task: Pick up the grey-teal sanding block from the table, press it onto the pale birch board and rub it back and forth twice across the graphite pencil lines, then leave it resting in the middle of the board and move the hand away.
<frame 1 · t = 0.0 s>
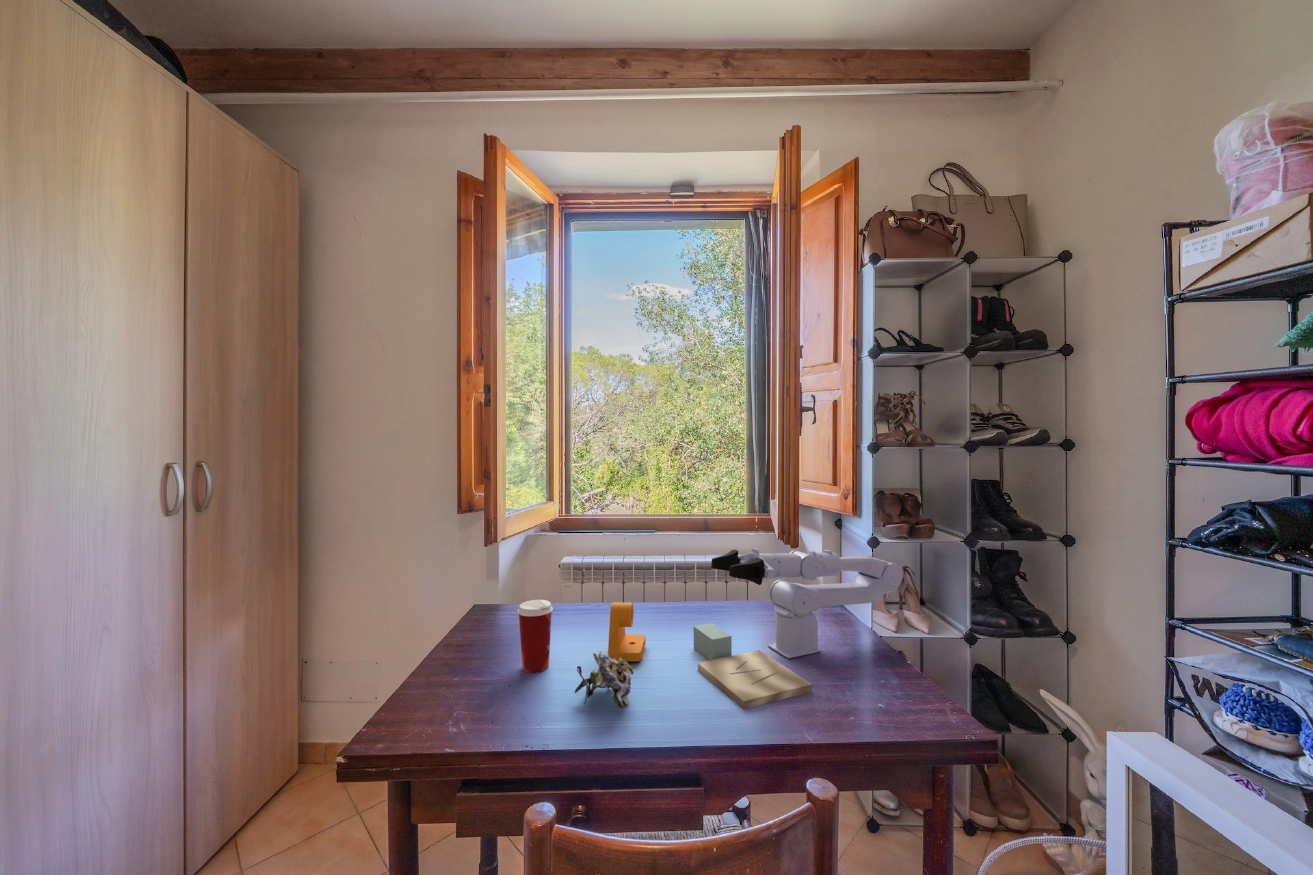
hand: (720, 567, 117), 22 cm above the table, tool horizontal, fingers open, 7 cm apart
bracket: (627, 655, 123), on the table
sanding block: (712, 654, 123), on the table
passion flower: (604, 704, 101), on the table
paper cup: (535, 668, 116), on the table
birch board: (752, 680, 110), on the table
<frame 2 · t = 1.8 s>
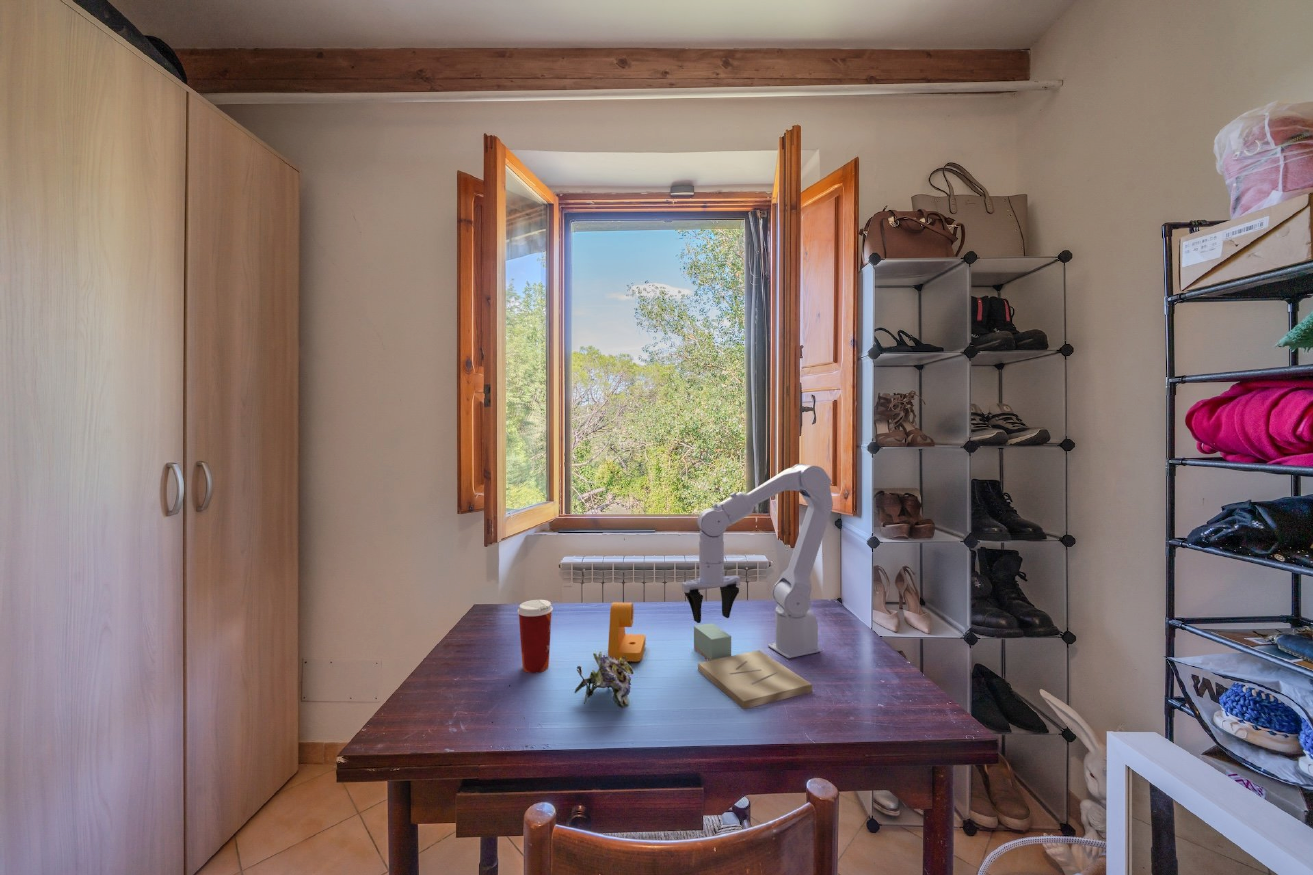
hand: (711, 619, 123), 8 cm above the table, tool pointing down, fingers open, 7 cm apart
nothing on the table moved.
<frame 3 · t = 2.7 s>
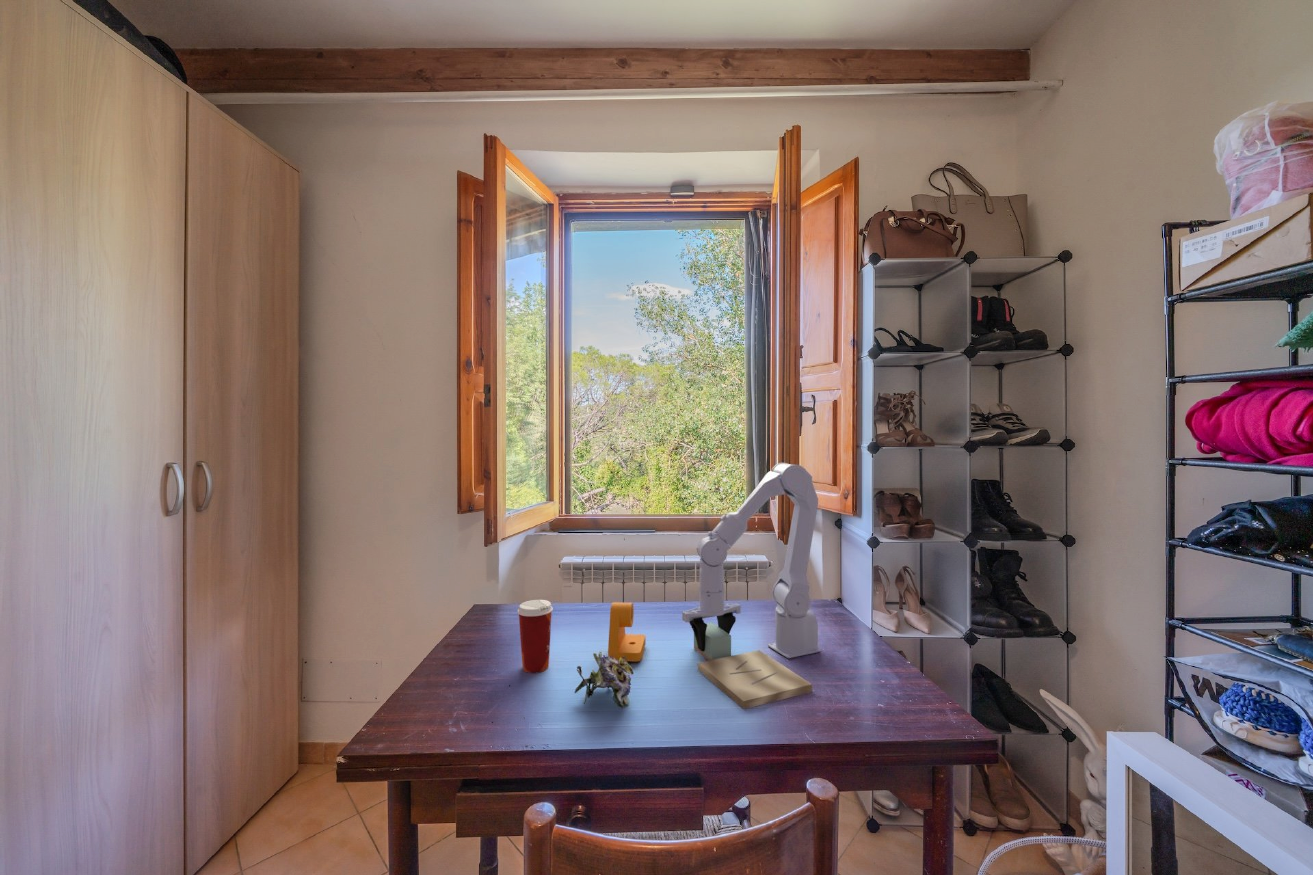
hand: (712, 647, 123), 1 cm above the table, tool pointing down, fingers closed on sanding block, 5 cm apart
sanding block: (712, 653, 123), on the table, touching gripper
everything else where it was.
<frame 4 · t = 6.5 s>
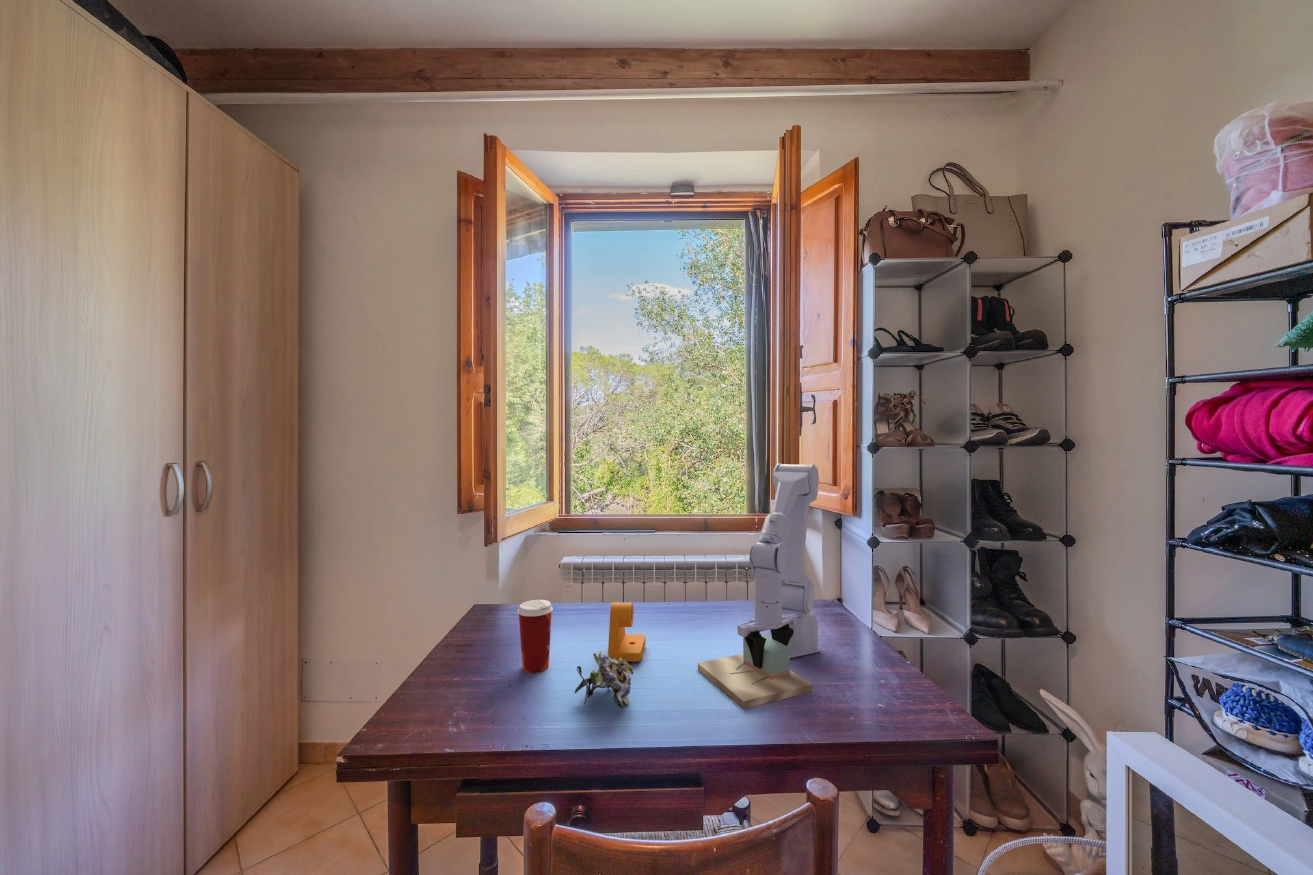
hand: (768, 663, 111), 3 cm above the table, tool pointing down, fingers closed on sanding block, 5 cm apart
sanding block: (765, 668, 112), point 2 cm above the table, touching birch board, gripper
everything else where it was.
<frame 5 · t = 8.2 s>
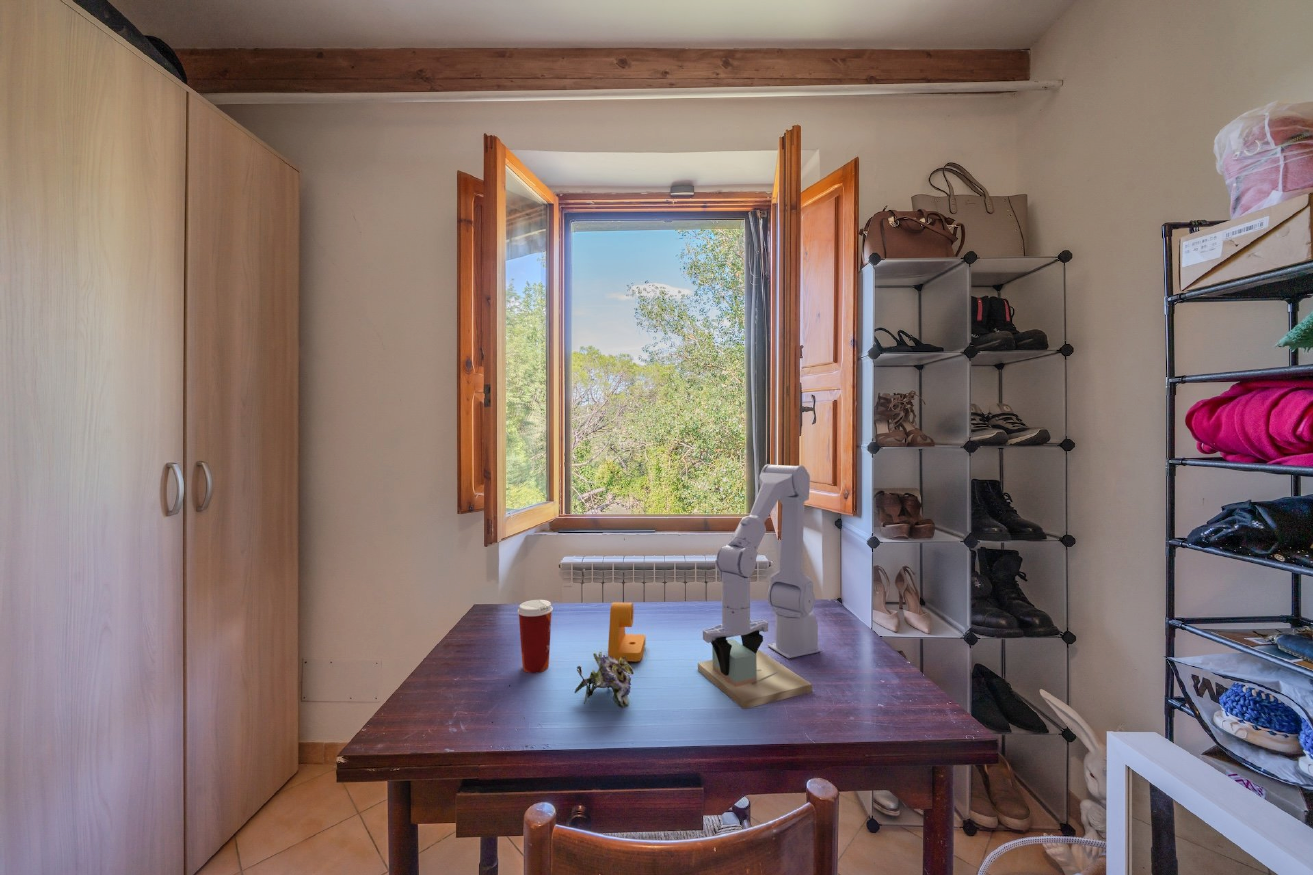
hand: (736, 670, 108), 3 cm above the table, tool pointing down, fingers closed on sanding block, 5 cm apart
sanding block: (733, 674, 109), point 2 cm above the table, touching gripper
everything else where it was.
when the fingers open (3 cm above the table, at t = 12.5 s): sanding block stays where it is, resting on birch board.
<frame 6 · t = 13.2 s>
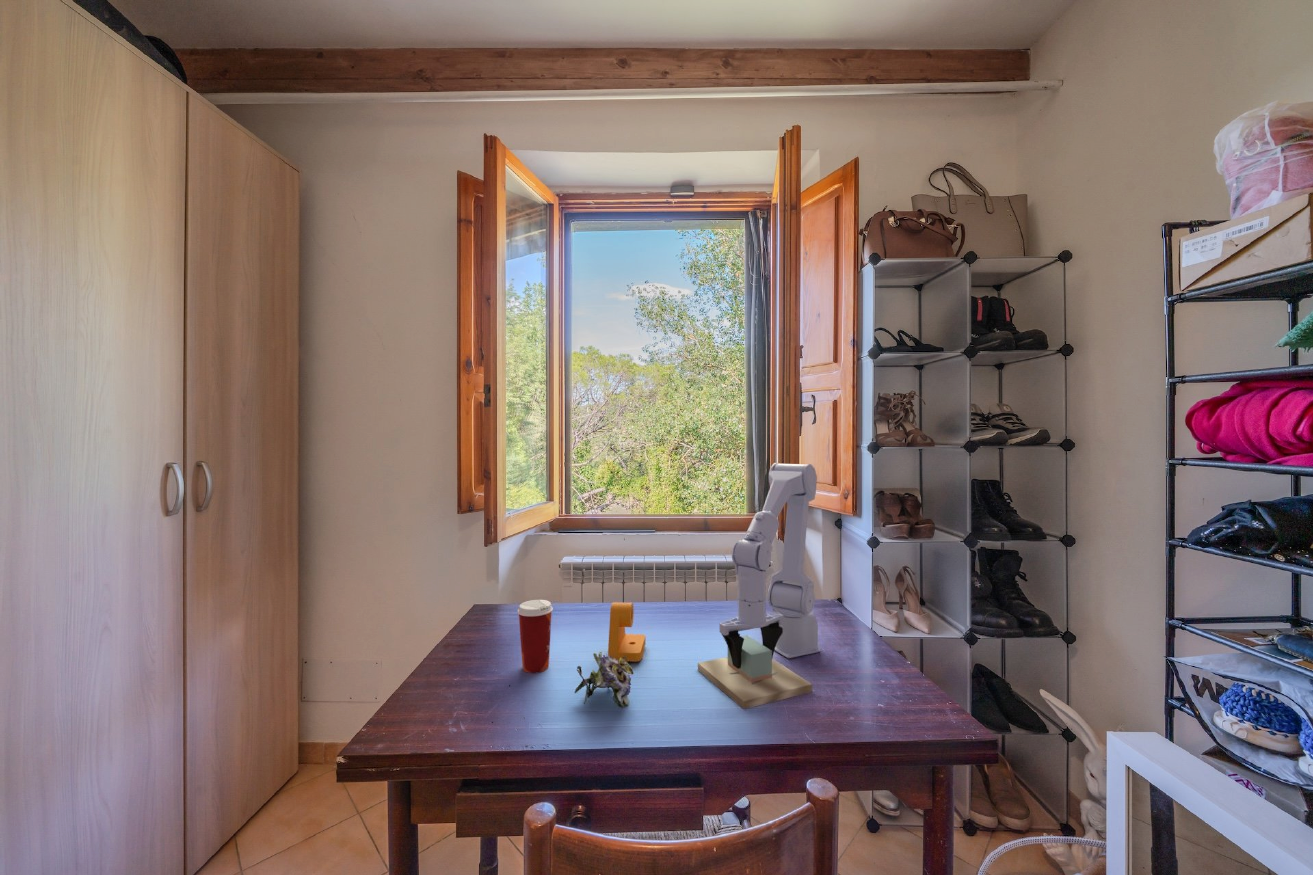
hand: (752, 662, 110), 4 cm above the table, tool pointing down, fingers open, 7 cm apart
sanding block: (749, 670, 111), point 2 cm above the table, touching birch board
everything else where it was.
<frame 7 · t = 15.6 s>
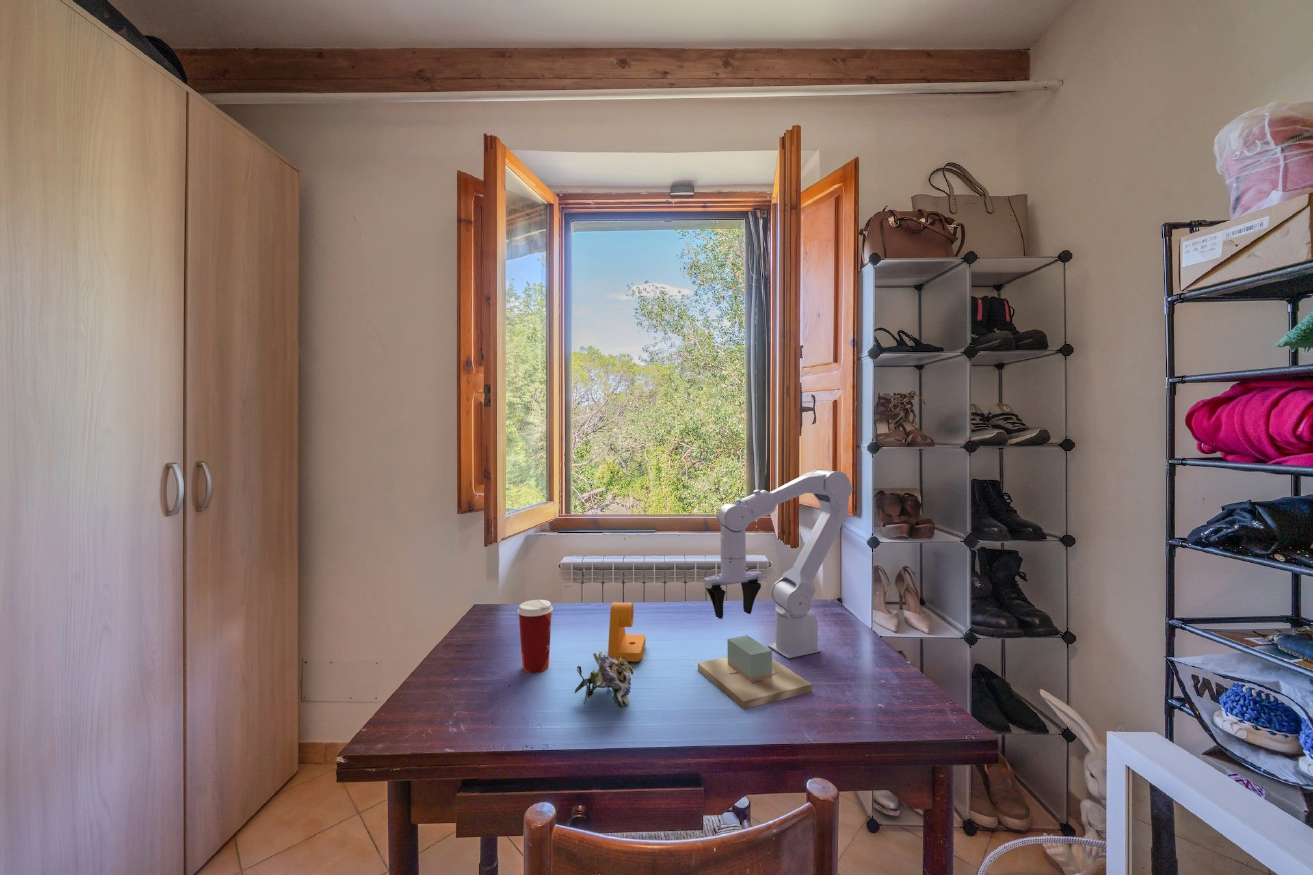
hand: (733, 614, 122), 9 cm above the table, tool pointing down, fingers open, 7 cm apart
nothing on the table moved.
at the end: sanding block inside the target area on the birch board (1.1 cm from its centre), point 1.5 cm above the birch board's base; sanding block tilted 0°; the gripper is holding nothing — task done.
